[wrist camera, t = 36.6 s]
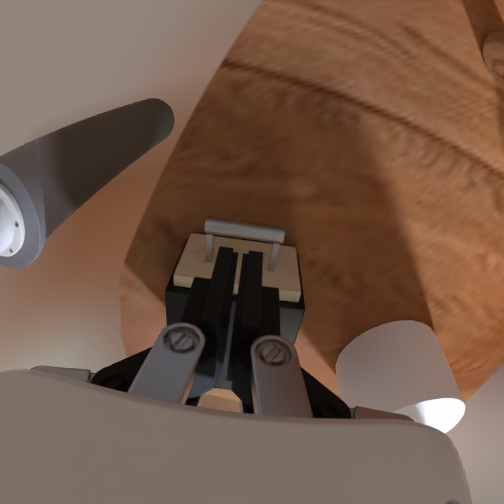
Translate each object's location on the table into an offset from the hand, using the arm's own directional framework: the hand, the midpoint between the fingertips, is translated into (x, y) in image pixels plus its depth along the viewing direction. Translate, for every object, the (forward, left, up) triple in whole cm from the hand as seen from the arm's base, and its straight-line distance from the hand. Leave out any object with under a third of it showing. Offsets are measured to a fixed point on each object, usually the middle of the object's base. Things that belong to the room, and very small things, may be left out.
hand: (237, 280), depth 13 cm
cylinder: (+25, -28, -21) cm, 43 cm away
